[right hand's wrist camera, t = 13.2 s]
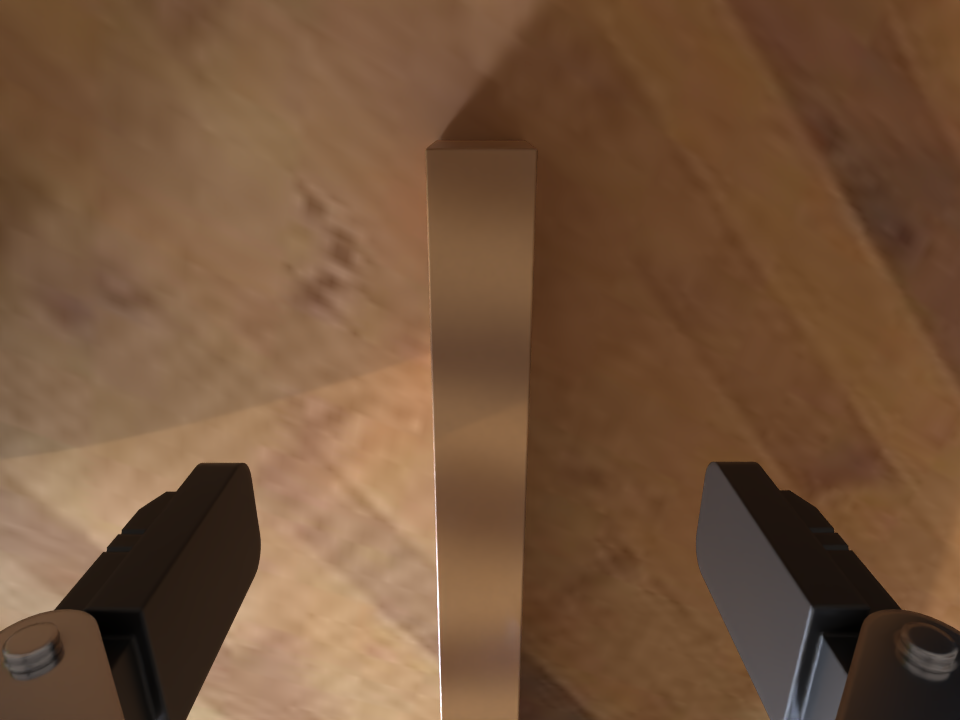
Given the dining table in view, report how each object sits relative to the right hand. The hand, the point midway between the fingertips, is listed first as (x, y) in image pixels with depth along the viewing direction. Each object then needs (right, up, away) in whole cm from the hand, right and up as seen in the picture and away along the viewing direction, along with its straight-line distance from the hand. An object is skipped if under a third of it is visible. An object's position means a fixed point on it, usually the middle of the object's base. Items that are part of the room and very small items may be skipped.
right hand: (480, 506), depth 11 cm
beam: (0, -10, +29) cm, 30 cm away
